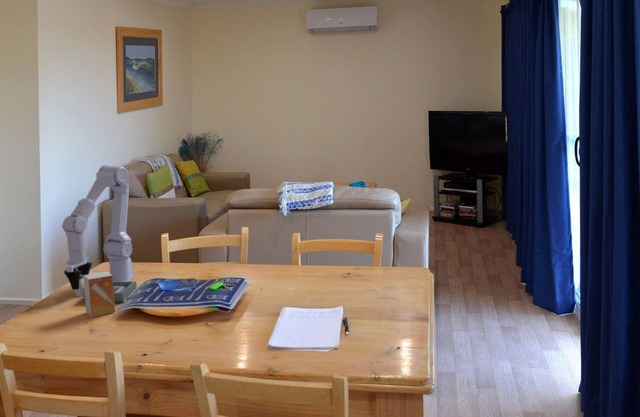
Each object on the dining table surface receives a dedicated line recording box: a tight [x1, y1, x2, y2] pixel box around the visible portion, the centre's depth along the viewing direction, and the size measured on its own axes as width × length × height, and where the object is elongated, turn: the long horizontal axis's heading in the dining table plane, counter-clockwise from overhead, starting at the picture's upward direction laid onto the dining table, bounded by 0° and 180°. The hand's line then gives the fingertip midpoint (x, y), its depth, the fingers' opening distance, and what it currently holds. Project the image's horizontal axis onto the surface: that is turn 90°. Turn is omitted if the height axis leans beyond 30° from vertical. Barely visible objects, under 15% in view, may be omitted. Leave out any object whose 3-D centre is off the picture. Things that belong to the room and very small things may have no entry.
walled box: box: [82, 280, 138, 304], centre depth 257 cm, size 14×14×4 cm
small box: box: [83, 271, 116, 318], centre depth 239 cm, size 8×6×13 cm
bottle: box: [74, 274, 84, 298], centre depth 259 cm, size 4×4×8 cm
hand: (80, 286), depth 259 cm, fingers open, 7 cm apart
